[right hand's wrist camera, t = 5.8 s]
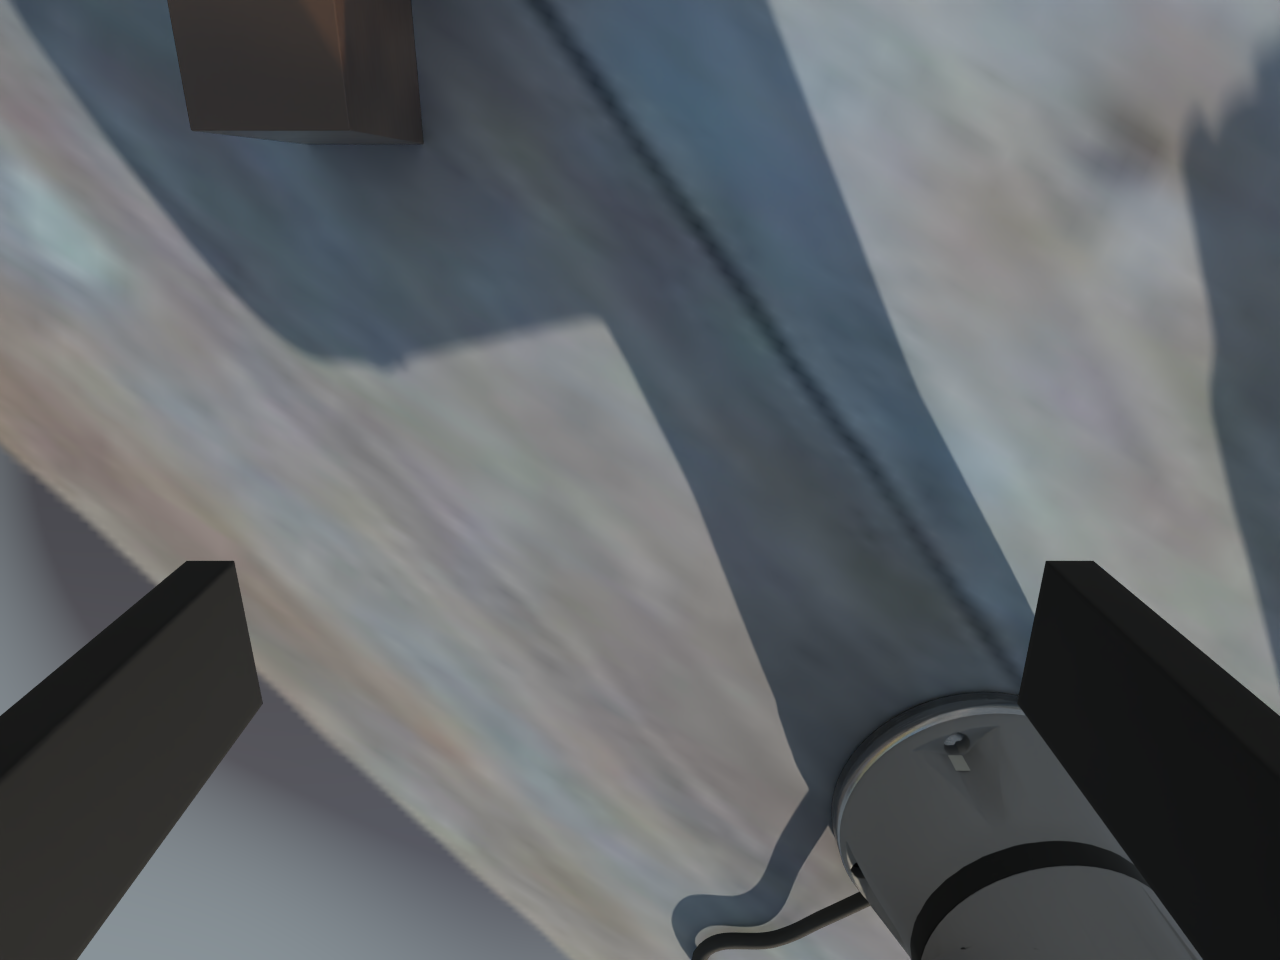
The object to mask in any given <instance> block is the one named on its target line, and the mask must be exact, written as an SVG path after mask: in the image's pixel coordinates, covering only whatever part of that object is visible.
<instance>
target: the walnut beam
mask: <svg viewBox="0 0 1280 960" xmlns="http://www.w3.org/2000/svg"><path fill="white" fill-rule="evenodd" d="M167 1H168V7H169V12H170V18H171V23H172V29H173V34H174V39H175V45H176V50H177V56H178V61H179V67H180V72H181V78H182V83H183V89H184V94H185V99H186V105H187V110H188V116H189V121H190V127H191V130H192V131H198V132H207V133H215V134H224V135H232V136H240V137H249V138H257V139H266V140H274V141H283V142H291V143H299V144H423V132H422V120H421V109H420V98H419V87H418V75H417V64H416V53H415V42H414V30H413V19H412V8H411V0H167Z"/></svg>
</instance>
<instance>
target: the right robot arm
mask: <svg viewBox="0 0 1280 960" xmlns="http://www.w3.org/2000/svg"><path fill="white" fill-rule="evenodd" d="M262 704H263V702H262V697H261V692H260V687H259V682H258V677H257V672H256V667H255V662H254V657H253V652H252V647H251V642H250V637H249V633H248V628H247V623H246V618H245V613H244V608H243V603H242V598H241V593H240V588H239V583H238V578H237V573H236V568H235V563H234V561H186V562H185V563H184V564H182V565H181V566H180V567H179V568H178V569H176V570H175V571H174V572H173V573H172V574H170V575H169V576H168V577H167V578H166V579H164V580H163V581H162V582H161V583H160V584H158V585H157V586H156V587H155V588H154V589H152V590H151V591H150V592H149V593H148V594H146V595H145V596H144V597H143V598H142V599H140V600H139V601H138V602H137V603H136V604H134V605H133V606H132V607H131V608H130V609H128V610H127V611H126V612H125V613H124V614H122V615H121V616H120V617H119V618H118V619H116V620H115V621H114V622H113V623H112V624H110V625H109V626H108V627H107V628H106V629H104V630H103V631H102V632H101V633H100V634H98V635H97V636H96V637H95V638H94V639H92V640H91V641H90V642H89V643H88V644H86V645H85V646H84V647H83V648H82V649H80V650H79V651H78V652H77V653H76V654H74V655H73V656H72V657H71V658H70V659H68V660H67V661H66V662H65V663H64V664H62V665H61V666H60V667H59V668H57V669H56V670H55V671H54V672H53V673H51V674H50V675H49V676H48V677H47V678H46V679H44V680H43V681H42V682H41V683H40V684H38V685H37V686H36V687H35V688H33V689H32V690H31V691H30V692H29V693H27V694H26V695H25V696H24V697H23V698H21V699H20V700H19V701H18V702H17V703H15V704H14V705H13V706H12V707H11V708H9V709H8V710H7V711H6V712H5V713H3V714H2V715H1V716H0V960H77V959H78V957H79V956H80V955H81V953H82V952H83V951H84V949H85V948H86V947H87V945H88V944H89V942H90V941H91V940H92V938H93V937H94V935H95V934H96V933H97V931H98V930H99V929H100V927H101V926H102V924H103V923H104V922H105V920H106V919H107V918H108V916H109V915H110V913H111V912H112V911H113V909H114V908H115V907H116V905H117V904H118V902H119V901H120V900H121V898H122V897H123V896H124V894H125V893H126V891H127V890H128V889H129V887H130V886H131V884H132V883H133V882H134V880H135V879H136V878H137V876H138V875H139V873H140V872H141V871H142V869H143V868H144V867H145V865H146V864H147V862H148V861H149V860H150V858H151V857H152V856H153V854H154V853H155V851H156V850H157V849H158V847H159V846H160V845H161V843H162V842H163V840H164V839H165V838H166V836H167V835H168V834H169V832H170V831H171V829H172V828H173V827H174V825H175V824H176V822H177V821H178V820H179V818H180V817H181V816H182V814H183V813H184V811H185V810H186V809H187V807H188V806H189V805H190V803H191V802H192V800H193V799H194V798H195V796H196V795H197V794H198V792H199V791H200V789H201V788H202V787H203V785H204V784H205V783H206V781H207V780H208V778H209V777H210V776H211V774H212V773H213V772H214V770H215V769H216V767H217V766H218V765H219V763H220V762H221V760H222V759H223V758H224V756H225V755H226V754H227V752H228V751H229V749H230V748H231V747H232V745H233V744H234V743H235V741H236V740H237V738H238V737H239V736H240V734H241V733H242V732H243V730H244V729H245V727H246V726H247V725H248V723H249V722H250V721H251V719H252V718H253V716H254V715H255V714H256V712H257V711H258V709H259V708H260V707H261V705H262ZM831 817H832V826H833V831H834V835H835V838H836V842H837V845H838V848H839V852H840V855H841V859H842V862H843V865H844V867H845V869H846V872H847V873H848V875H849V877H850V879H851V880H852V882H853V883H854V884H855V886H856V887H857V888H858V890H859V891H860V892H858V893H856V894H854V895H852V896H850V897H848V898H845V899H843V900H841V901H839V902H837V903H835V904H833V905H831V906H828V907H826V908H824V909H822V910H820V911H818V912H816V913H813V914H811V915H810V916H808V917H806V918H804V919H802V920H800V921H798V922H796V923H794V924H791V925H789V926H786V927H784V928H781V929H778V930H774V931H770V932H763V933H721V934H716V935H713V936H711V937H709V938H707V939H705V940H704V941H703V942H702V943H700V944H699V945H698V947H697V948H696V950H695V951H694V953H693V957H692V960H707V959H708V958H709V956H710V955H711V954H713V953H715V952H717V951H720V950H725V949H768V948H774V947H778V946H782V945H785V944H788V943H791V942H793V941H796V940H798V939H800V938H802V937H804V936H806V935H808V934H810V933H812V932H814V931H816V930H818V929H821V928H823V927H825V926H827V925H829V924H832V923H834V922H836V921H838V920H840V919H843V918H845V917H847V916H849V915H851V914H853V913H856V912H858V911H860V910H862V909H864V908H866V907H868V906H871V907H872V908H873V909H874V911H875V912H876V913H877V915H878V916H879V917H880V918H881V920H882V921H883V922H884V924H885V925H886V926H887V928H888V929H889V930H890V932H891V933H892V934H893V935H894V937H895V938H896V939H897V941H898V942H899V943H900V945H901V946H902V947H903V949H904V950H905V951H906V952H907V954H908V955H909V956H910V958H911V960H1280V716H1279V715H1278V714H1277V713H1275V712H1274V711H1273V710H1272V709H1271V708H1269V707H1268V706H1267V705H1266V704H1265V703H1263V702H1262V701H1261V700H1260V699H1259V698H1257V697H1256V696H1255V695H1254V694H1253V693H1251V692H1250V691H1249V690H1248V689H1247V688H1245V687H1244V686H1243V685H1242V684H1241V683H1239V682H1238V681H1237V680H1236V679H1235V678H1233V677H1232V676H1231V675H1230V674H1229V673H1227V672H1226V671H1225V670H1224V669H1223V668H1221V667H1220V666H1219V665H1218V664H1216V663H1215V662H1214V661H1213V660H1212V659H1210V658H1209V657H1208V656H1207V655H1206V654H1204V653H1203V652H1202V651H1201V650H1200V649H1198V648H1197V647H1196V646H1195V645H1194V644H1192V643H1191V642H1190V641H1189V640H1188V639H1186V638H1185V637H1184V636H1183V635H1182V634H1180V633H1179V632H1178V631H1177V630H1176V629H1174V628H1173V627H1172V626H1171V625H1170V624H1168V623H1167V622H1166V621H1165V620H1164V619H1162V618H1161V617H1160V616H1159V615H1158V614H1156V613H1155V612H1154V611H1153V610H1152V609H1150V608H1149V607H1148V606H1147V605H1146V604H1144V603H1143V602H1142V601H1141V600H1140V599H1138V598H1137V597H1136V596H1135V595H1134V594H1132V593H1131V592H1130V591H1129V590H1128V589H1126V588H1125V587H1124V586H1123V585H1122V584H1120V583H1119V582H1118V581H1117V580H1116V579H1114V578H1113V577H1112V576H1111V575H1110V574H1108V573H1107V572H1106V571H1105V570H1104V569H1102V568H1101V567H1100V566H1099V565H1098V564H1096V563H1095V562H1094V561H1046V563H1045V568H1044V573H1043V578H1042V583H1041V588H1040V593H1039V598H1038V603H1037V608H1036V613H1035V618H1034V623H1033V628H1032V632H1031V637H1030V642H1029V647H1028V652H1027V657H1026V662H1025V667H1024V672H1023V677H1022V682H1021V687H1020V692H1019V696H1017V695H1011V694H1005V693H993V692H977V693H965V694H958V695H952V696H947V697H943V698H939V699H935V700H933V701H930V702H927V703H924V704H921V705H919V706H916V707H914V708H911V709H909V710H907V711H905V712H903V713H901V714H900V715H898V716H896V717H894V718H893V719H891V720H890V721H888V722H886V723H885V724H884V725H882V726H881V727H880V728H878V729H877V730H876V731H874V732H873V733H872V734H871V735H870V736H869V737H868V738H867V739H866V740H865V741H864V742H863V743H862V744H861V745H860V746H859V747H858V748H857V749H856V751H855V752H854V753H853V755H852V756H851V757H850V758H849V760H848V762H847V763H846V765H845V767H844V768H843V770H842V772H841V774H840V776H839V778H838V781H837V784H836V787H835V790H834V795H833V799H832V808H831Z"/></svg>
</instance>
